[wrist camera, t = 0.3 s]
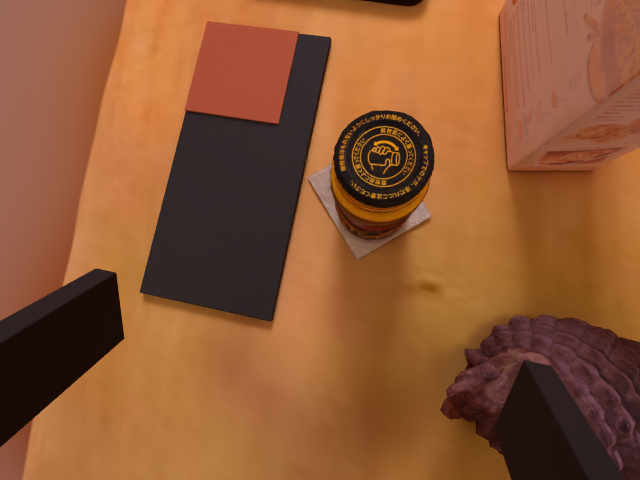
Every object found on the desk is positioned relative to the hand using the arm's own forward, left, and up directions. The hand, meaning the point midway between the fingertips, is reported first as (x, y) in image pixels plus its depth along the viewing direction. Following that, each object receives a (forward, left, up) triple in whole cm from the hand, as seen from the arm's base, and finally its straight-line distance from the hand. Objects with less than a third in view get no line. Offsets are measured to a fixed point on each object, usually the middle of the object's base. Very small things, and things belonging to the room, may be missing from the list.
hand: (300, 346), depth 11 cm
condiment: (+10, -1, -18) cm, 20 cm away
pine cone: (-2, -16, -18) cm, 24 cm away
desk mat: (+11, +11, -18) cm, 23 cm away
